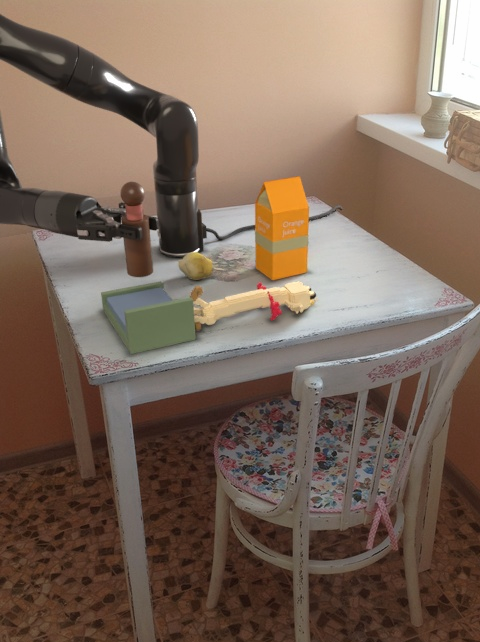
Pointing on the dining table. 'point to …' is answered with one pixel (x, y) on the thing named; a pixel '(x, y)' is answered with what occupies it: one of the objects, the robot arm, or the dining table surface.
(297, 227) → the orange juice
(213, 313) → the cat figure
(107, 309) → the bed
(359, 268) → the dining table surface
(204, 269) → the fruit
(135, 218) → the skittle
